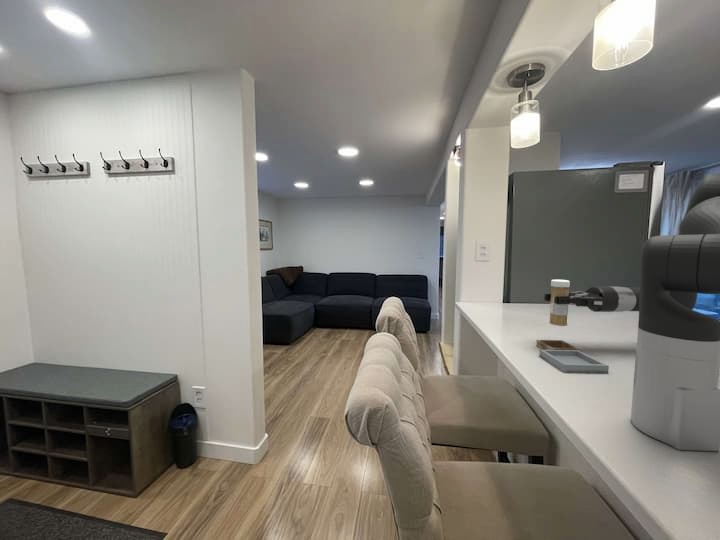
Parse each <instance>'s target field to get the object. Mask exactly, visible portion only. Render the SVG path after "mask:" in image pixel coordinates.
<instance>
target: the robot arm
mask: <svg viewBox="0 0 720 540" xmlns="http://www.w3.org/2000/svg"><path fill="white" fill-rule="evenodd" d="M678 230H679V233H678V234H671V235H670V234H669V235H667V234H666V235H655V236H654V235H653V236H651V237H649V238H647V240H646V241H645V242H644V244H643V246H642V247H641V251H640V252H641V253H640V258H639V259H640V260H639V286H637V287H635V286H634V287H625V286H624V287H623V286H610V285H609V286H607V285H606V286H604V285H602V286H600V285H599V286H597V285H595V286H590V287H588V288H587V290H586V291H585V292H584V291H570V290H569V294H568V296H555V297H554V303H555V304H568V306H569V305H570V306H575V307H585V308H588V309H589V310H590V311H591V312H596V313H603V312H604V313H623V312H624V313H625V312H638V324H637V337H636V349H635V361H634V373H633V385H632V395H631V396H632V398H631V413H630V423H631V424H632V425H633V426H634V427H635V428H636V429H637V430H639V431H641V432H642V433H644V434H645V435H647V436H648V437H651V438H653V439H656V440H658V441H660V442H662V443H665V444H667V445H669V446H672V447H673V448H675V449H676V450H678V451H703V452H704V451H705V452H707V451H709V452H720V389H719V388H718V387H719V386H718V384H719V378H720V377H719V375H720V320H719V319H718V318H716V317H714V316H711V315H708V314H705V313H702V312H699V311H696V310H694V308H695V307H696V304H697V300H698V299H697V298H698V294H702V295H720V173H709V174H707V175H706V176H704V178H702V179H701V181H700V182H699V183H698V185H696V188H695V190H694V191H693V193H692V196H691V197H690V200H689V202H688V205H687V208H686V212H685V214H684V217H683V219H682V220H681V222H680V224H679V227H678ZM543 300H544V301H545V302H551V293H544V295H543Z"/></svg>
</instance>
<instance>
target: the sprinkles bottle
mask: <svg viewBox="0 0 720 540" xmlns="http://www.w3.org/2000/svg"><path fill="white" fill-rule="evenodd" d="M570 283H571V282H570V280H567V279H551V280H550V288H551V290H550V294H551V301H550V302H549V303H550V305H549V306H550V309H549V322H548V323H549V324H550V325H552V326H557V327H567V326H568V315H569V304H555V303H554V297H555V296H568V294H569V291H570V290H569V289H570V286H571V285H570Z"/></svg>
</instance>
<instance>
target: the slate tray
mask: <svg viewBox="0 0 720 540" xmlns="http://www.w3.org/2000/svg"><path fill="white" fill-rule="evenodd" d="M539 357H540V358H542V359H543V360H544V361H546V362H547V363H549V364H550V365H552V366H553V367H555V368H557V369H558V370H559V371H561V372H562V373H566V374H571V373H572V374H609V369H610V367H609V365H608V364H607V363H604V362H602V361H600V360H599V359H597V358H594V357H592V356H591V355H588V354H586V353H585V352H582V351H581V350H580V351H579V350H542V349H539Z"/></svg>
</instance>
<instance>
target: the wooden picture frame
mask: <svg viewBox="0 0 720 540" xmlns="http://www.w3.org/2000/svg"><path fill="white" fill-rule="evenodd" d="M535 346H536V347H537V348H539V350H579V351H581V349H580V348H578V347H576V346H575V345H572V344H570V343H568V342H566V341H564V340H562V339H559V340H558V339H536V344H535Z"/></svg>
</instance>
